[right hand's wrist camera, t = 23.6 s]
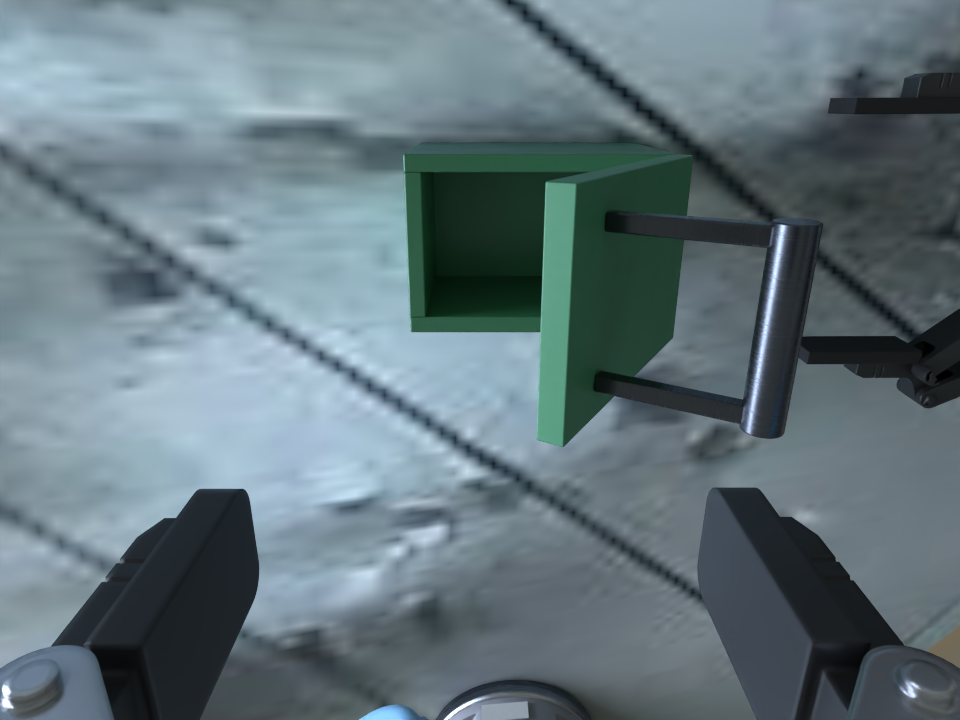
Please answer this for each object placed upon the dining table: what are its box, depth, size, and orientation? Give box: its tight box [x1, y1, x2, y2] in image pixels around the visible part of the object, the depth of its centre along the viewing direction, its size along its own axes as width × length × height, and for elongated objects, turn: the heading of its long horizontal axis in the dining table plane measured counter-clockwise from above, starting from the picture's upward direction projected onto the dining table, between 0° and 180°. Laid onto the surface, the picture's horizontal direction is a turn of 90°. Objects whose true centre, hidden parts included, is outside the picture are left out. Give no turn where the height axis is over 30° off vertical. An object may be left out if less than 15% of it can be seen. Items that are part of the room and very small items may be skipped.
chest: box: [403, 143, 678, 332], centre depth 39 cm, size 14×9×10 cm
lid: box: [537, 155, 823, 447], centre depth 27 cm, size 14×9×8 cm
